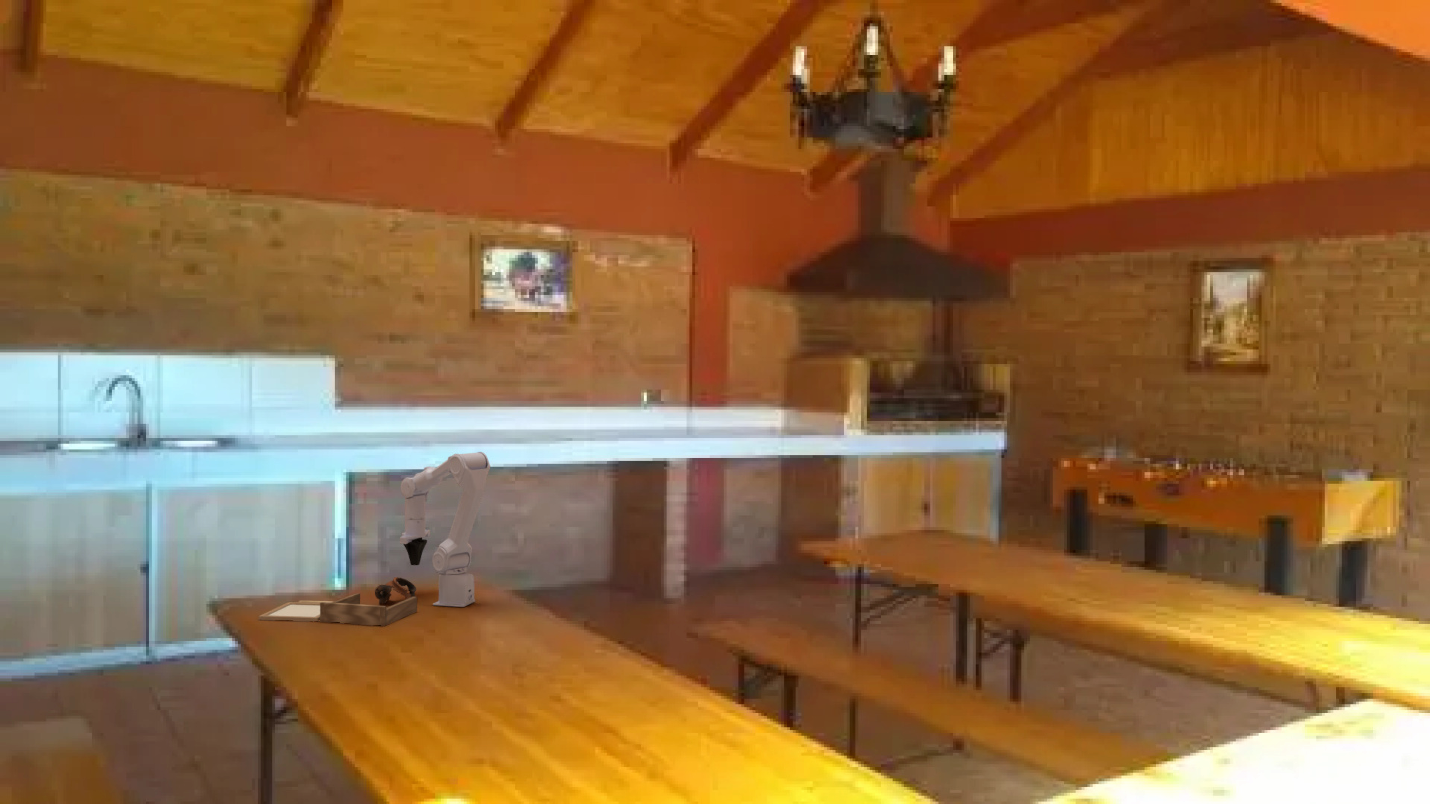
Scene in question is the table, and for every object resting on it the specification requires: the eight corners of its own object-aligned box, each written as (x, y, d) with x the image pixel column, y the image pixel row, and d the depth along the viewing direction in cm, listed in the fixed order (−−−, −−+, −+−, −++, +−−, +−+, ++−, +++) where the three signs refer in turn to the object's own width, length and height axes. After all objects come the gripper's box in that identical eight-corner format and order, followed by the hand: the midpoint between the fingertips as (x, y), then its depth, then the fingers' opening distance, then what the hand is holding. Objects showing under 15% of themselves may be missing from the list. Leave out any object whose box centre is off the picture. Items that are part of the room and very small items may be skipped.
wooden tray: (417, 611, 307) (417, 593, 307) (384, 626, 290) (384, 607, 290) (356, 607, 311) (356, 589, 311) (320, 621, 294) (320, 602, 294)
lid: (348, 605, 314) (348, 601, 314) (317, 621, 294) (317, 618, 294) (293, 603, 315) (293, 600, 315) (258, 620, 295) (258, 616, 295)
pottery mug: (393, 600, 324) (407, 576, 323) (411, 618, 319) (425, 594, 318) (361, 596, 314) (376, 571, 313) (379, 615, 309) (394, 590, 308)
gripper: (414, 514, 334) (414, 559, 335) (390, 521, 320) (390, 568, 321) (436, 515, 333) (436, 561, 333) (412, 522, 319) (412, 569, 319)
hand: (415, 564), depth 327 cm, fingers closed
